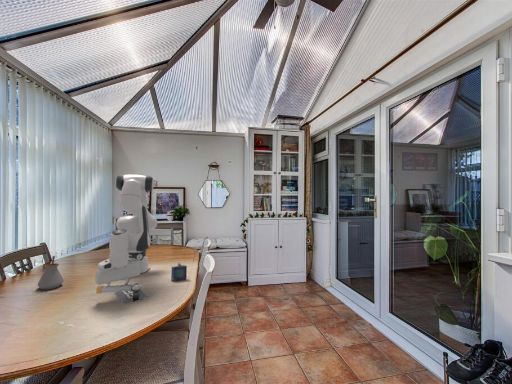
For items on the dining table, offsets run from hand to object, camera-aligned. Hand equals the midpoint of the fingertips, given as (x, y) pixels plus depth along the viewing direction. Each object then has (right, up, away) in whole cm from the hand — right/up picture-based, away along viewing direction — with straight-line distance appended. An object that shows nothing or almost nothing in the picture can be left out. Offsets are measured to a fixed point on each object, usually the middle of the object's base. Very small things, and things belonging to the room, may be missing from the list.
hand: (118, 288), depth 124 cm
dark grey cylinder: (+10, -5, -3) cm, 11 cm away
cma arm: (+3, 0, -4) cm, 5 cm away
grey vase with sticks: (-50, -5, +18) cm, 54 cm away
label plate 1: (+2, -5, +6) cm, 8 cm away
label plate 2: (+6, -5, +1) cm, 8 cm away
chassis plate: (+5, -6, +2) cm, 8 cm away
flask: (+22, -6, +28) cm, 36 cm away
